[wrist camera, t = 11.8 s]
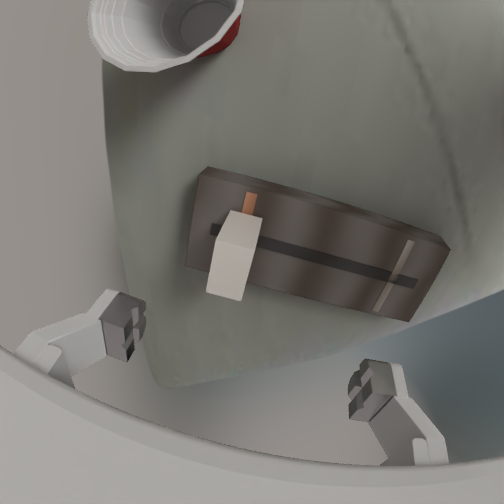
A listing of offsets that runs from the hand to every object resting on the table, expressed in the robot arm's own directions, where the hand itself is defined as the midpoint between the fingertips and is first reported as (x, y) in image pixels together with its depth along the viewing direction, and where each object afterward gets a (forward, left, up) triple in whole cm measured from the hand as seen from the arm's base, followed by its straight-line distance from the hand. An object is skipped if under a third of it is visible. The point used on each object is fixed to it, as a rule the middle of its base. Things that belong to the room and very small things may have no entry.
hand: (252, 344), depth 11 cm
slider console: (-6, +6, -22) cm, 23 cm away
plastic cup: (+10, -13, -22) cm, 28 cm away
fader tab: (+2, +6, -19) cm, 20 cm away
